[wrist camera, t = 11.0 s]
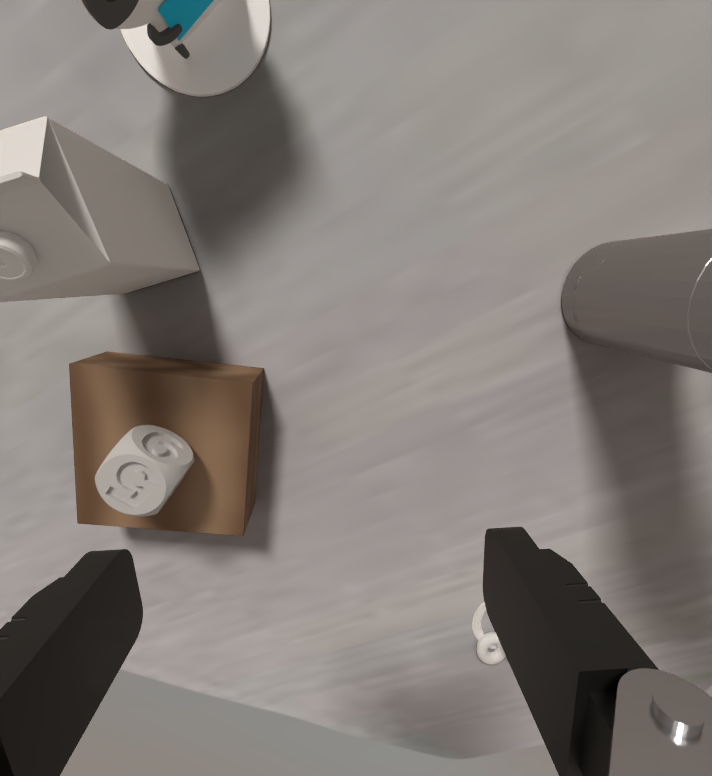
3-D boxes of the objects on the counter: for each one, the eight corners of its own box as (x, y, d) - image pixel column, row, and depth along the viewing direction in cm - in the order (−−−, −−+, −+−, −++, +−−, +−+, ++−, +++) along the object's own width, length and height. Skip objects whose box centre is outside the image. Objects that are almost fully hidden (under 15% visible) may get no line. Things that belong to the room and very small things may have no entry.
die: (118, 463, 34) (82, 493, 29) (148, 416, 33) (116, 439, 29) (172, 494, 35) (146, 528, 30) (202, 449, 34) (180, 476, 29)
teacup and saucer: (484, 660, 49) (497, 693, 45) (452, 614, 47) (463, 644, 43) (550, 625, 48) (569, 656, 44) (520, 577, 46) (537, 604, 42)
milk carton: (87, 209, 34) (-198, 129, 16) (169, 184, 34) (-24, 74, 16) (123, 294, 36) (-94, 309, 18) (201, 270, 36) (62, 261, 18)
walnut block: (264, 367, 39) (252, 382, 33) (255, 500, 42) (243, 535, 37) (109, 350, 38) (69, 363, 32) (113, 489, 41) (77, 523, 36)
